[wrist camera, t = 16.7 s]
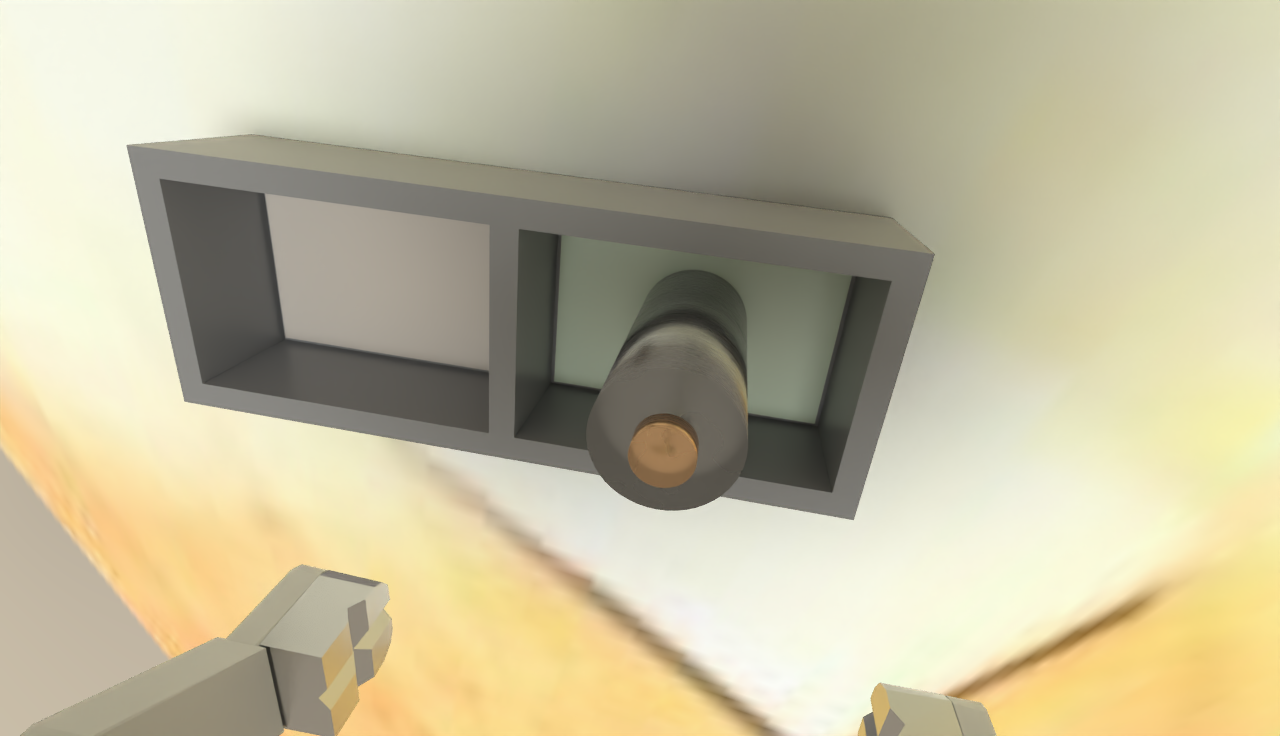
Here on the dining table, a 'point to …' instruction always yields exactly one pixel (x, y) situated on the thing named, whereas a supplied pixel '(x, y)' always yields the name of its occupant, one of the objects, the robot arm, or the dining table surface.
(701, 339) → the metal cell
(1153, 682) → the dining table surface
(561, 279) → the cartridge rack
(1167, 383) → the dining table surface
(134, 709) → the robot arm
